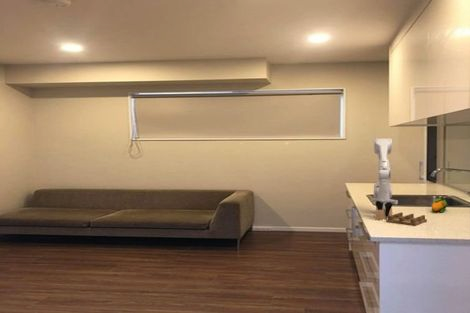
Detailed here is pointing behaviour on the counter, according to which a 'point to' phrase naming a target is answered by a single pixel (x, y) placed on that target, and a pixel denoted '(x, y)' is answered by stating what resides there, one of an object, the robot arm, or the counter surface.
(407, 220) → the drying rack
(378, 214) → the clay bar
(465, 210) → the counter surface
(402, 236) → the counter surface
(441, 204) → the corn
